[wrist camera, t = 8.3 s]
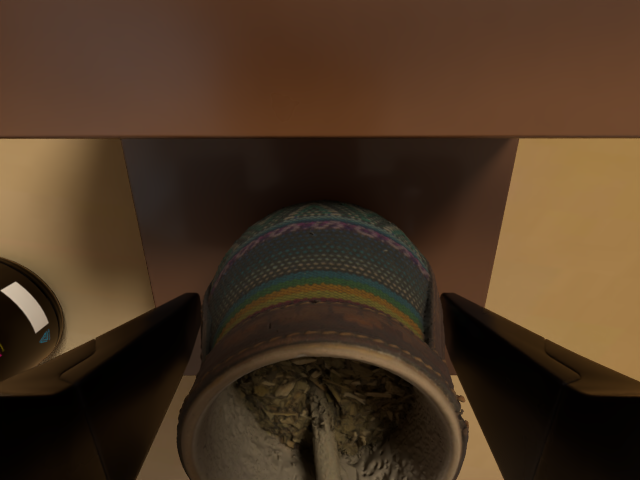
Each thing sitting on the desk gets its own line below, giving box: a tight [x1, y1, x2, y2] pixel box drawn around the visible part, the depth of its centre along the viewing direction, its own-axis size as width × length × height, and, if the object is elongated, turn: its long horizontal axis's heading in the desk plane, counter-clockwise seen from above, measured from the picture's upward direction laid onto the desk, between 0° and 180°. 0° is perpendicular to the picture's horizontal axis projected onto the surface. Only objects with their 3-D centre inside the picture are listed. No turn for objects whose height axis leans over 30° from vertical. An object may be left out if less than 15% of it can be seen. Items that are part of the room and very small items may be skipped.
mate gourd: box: [177, 199, 469, 480], centre depth 9 cm, size 7×8×10 cm
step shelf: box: [0, 0, 640, 375], centre depth 12 cm, size 16×14×8 cm
